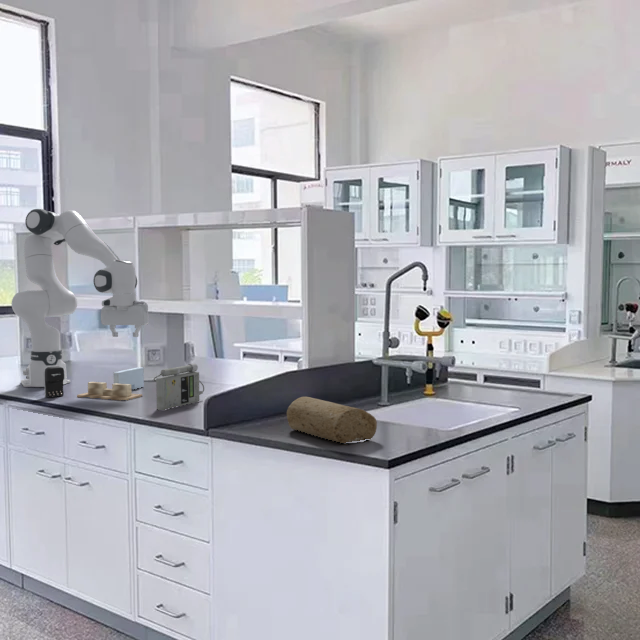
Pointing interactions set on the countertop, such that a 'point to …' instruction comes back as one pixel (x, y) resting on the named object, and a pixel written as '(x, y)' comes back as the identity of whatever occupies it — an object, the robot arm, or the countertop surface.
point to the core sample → (330, 420)
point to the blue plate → (130, 377)
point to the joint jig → (109, 391)
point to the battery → (53, 381)
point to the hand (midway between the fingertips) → (125, 336)
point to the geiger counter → (178, 387)
